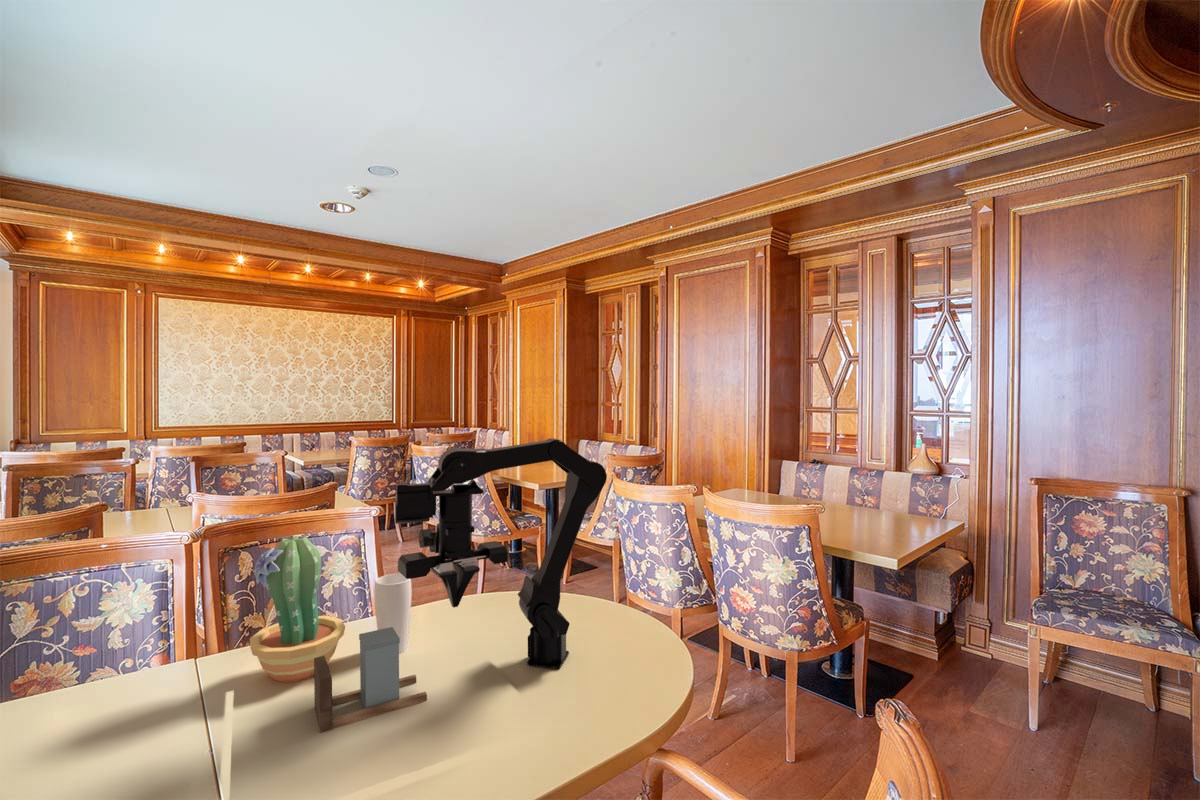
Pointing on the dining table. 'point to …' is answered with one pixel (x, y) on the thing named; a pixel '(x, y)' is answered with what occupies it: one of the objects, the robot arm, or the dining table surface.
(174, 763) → the dining table surface
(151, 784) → the dining table surface
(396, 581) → the drinking glass
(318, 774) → the dining table surface
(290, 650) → the potted cactus
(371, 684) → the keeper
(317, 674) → the track
